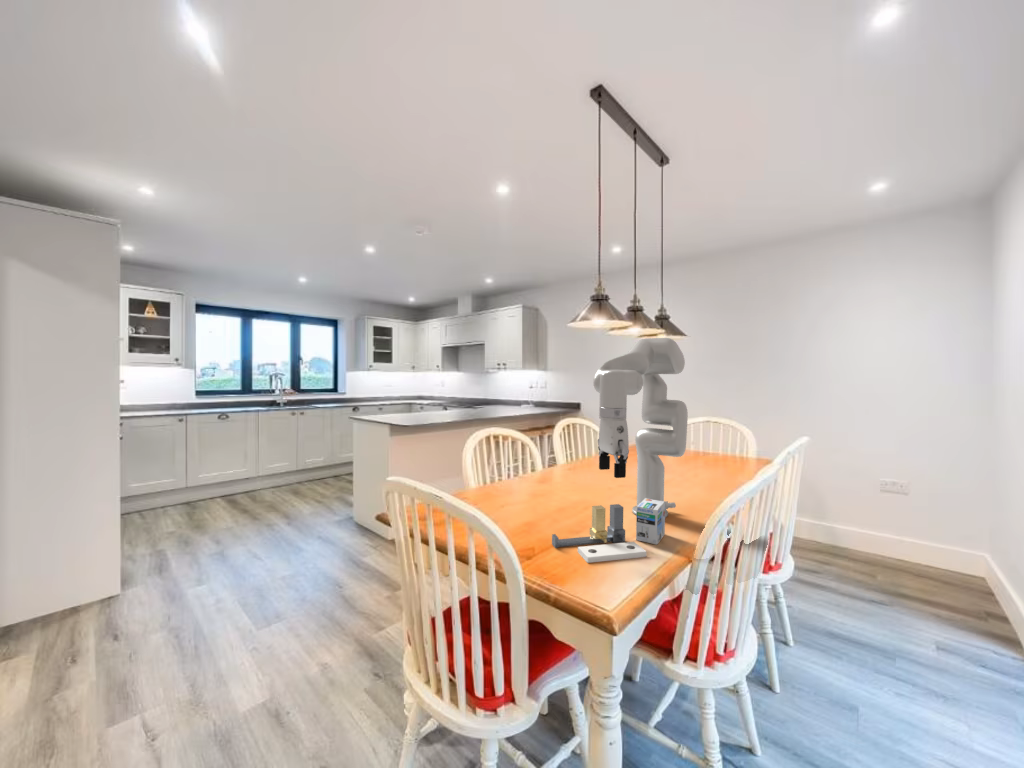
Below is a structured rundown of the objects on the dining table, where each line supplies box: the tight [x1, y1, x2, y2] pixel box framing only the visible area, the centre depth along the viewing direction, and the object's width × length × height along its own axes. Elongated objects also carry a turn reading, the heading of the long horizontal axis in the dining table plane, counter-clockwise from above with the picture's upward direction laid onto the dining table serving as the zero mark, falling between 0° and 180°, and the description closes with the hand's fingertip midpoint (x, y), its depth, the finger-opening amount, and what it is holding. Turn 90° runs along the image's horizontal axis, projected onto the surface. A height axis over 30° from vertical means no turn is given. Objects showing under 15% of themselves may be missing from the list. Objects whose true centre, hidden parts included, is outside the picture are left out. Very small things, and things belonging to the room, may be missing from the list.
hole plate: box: [577, 541, 647, 564], centre depth 122 cm, size 18×7×2 cm, turn 103°
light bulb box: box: [635, 498, 666, 546], centre depth 135 cm, size 11×7×11 cm, turn 148°
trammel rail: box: [551, 503, 626, 549], centre depth 128 cm, size 22×7×11 cm, turn 103°
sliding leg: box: [589, 504, 608, 544], centre depth 129 cm, size 4×7×9 cm, turn 13°
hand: (611, 473), depth 121 cm, fingers open, 9 cm apart
